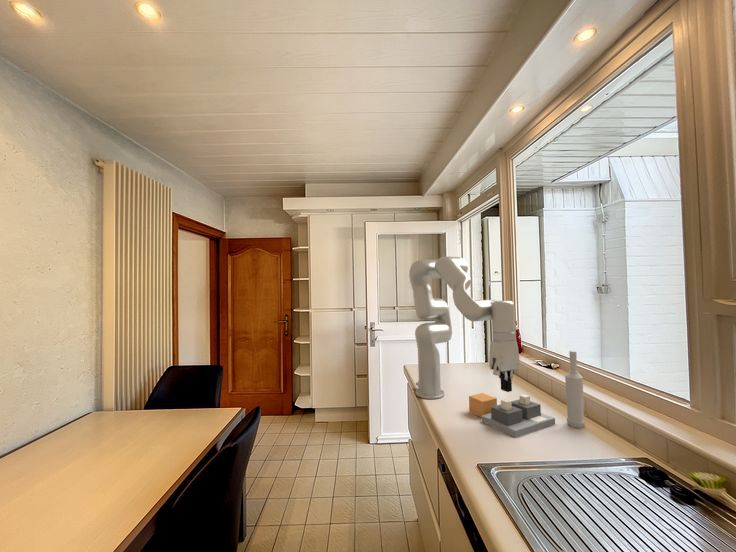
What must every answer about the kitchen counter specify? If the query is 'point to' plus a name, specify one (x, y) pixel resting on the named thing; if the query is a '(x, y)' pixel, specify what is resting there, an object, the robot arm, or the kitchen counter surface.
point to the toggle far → (524, 399)
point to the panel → (519, 426)
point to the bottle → (574, 394)
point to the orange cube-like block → (481, 404)
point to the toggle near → (506, 404)
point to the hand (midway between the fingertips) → (506, 390)
